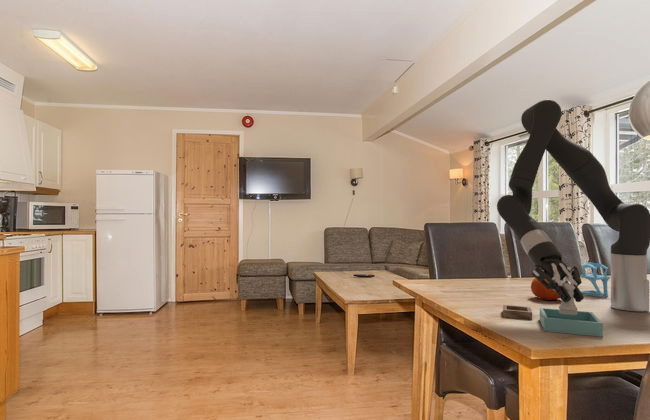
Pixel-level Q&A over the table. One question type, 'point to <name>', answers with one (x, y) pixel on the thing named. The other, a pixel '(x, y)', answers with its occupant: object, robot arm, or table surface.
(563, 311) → the rook chess piece
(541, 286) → the fruit
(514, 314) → the socket collar
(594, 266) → the chair
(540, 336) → the table surface
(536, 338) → the table surface
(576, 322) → the tray
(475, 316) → the table surface
